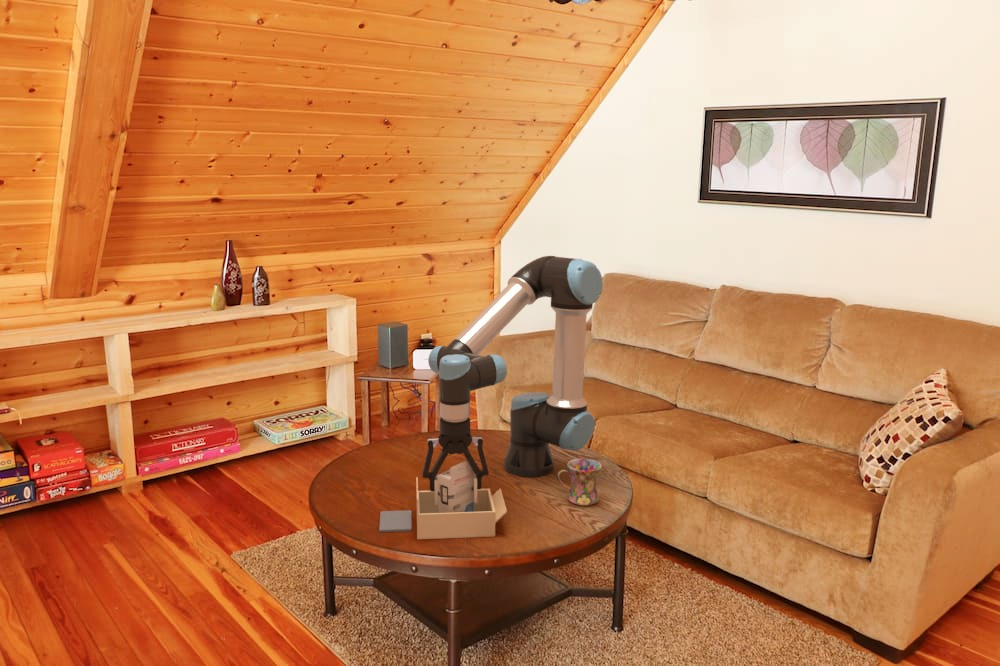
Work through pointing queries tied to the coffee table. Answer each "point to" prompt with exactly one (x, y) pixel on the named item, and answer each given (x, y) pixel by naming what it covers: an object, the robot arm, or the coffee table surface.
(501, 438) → the coffee table surface
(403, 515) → the felt pad
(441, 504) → the ink box
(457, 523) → the carton
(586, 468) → the mug
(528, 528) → the coffee table surface
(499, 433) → the coffee table surface
